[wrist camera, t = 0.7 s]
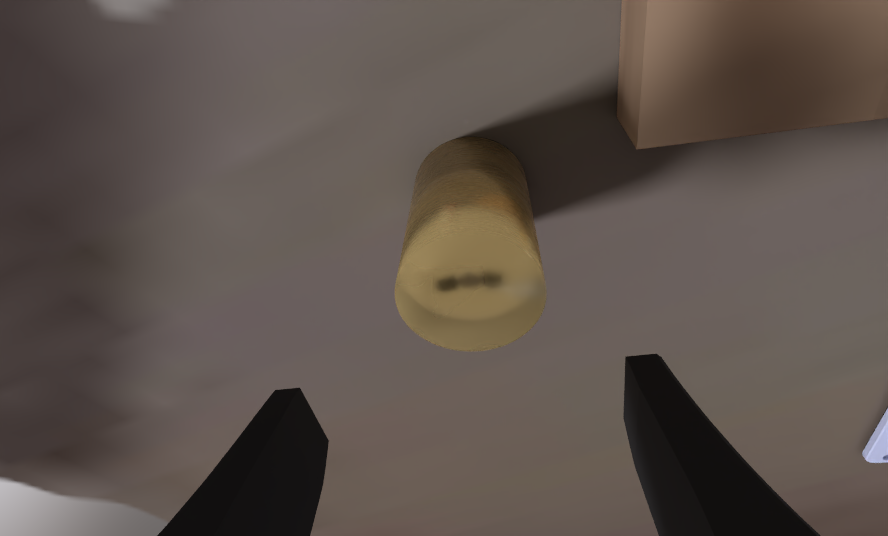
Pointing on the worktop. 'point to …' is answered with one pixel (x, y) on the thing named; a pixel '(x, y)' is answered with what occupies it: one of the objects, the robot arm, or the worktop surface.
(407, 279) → the brass peg
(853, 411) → the worktop surface
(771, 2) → the plate
